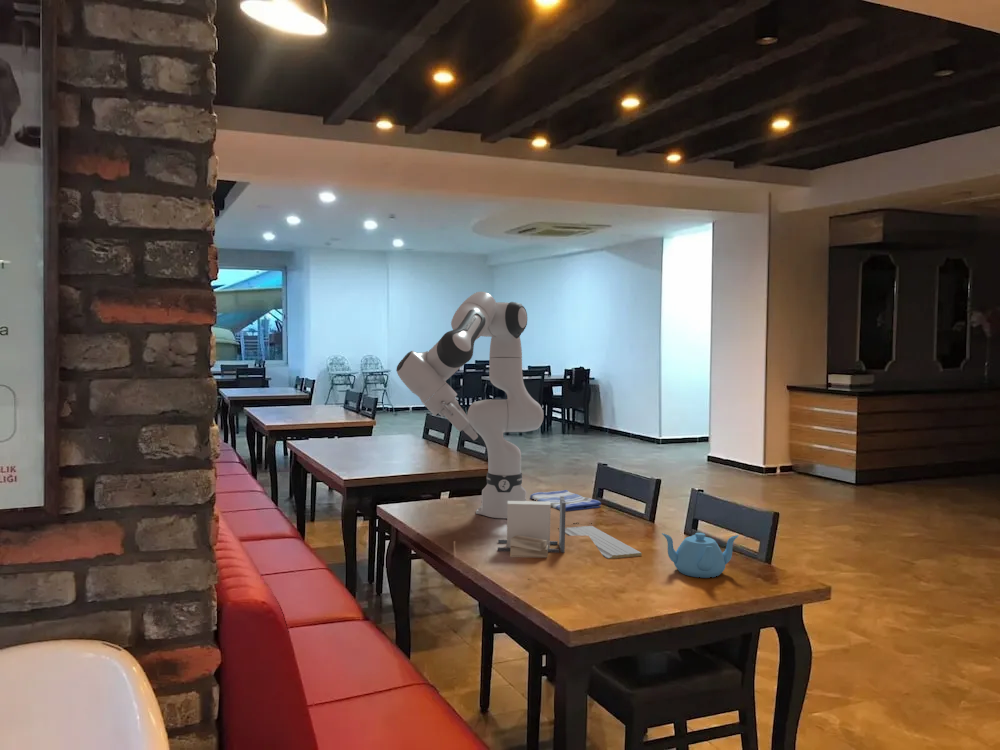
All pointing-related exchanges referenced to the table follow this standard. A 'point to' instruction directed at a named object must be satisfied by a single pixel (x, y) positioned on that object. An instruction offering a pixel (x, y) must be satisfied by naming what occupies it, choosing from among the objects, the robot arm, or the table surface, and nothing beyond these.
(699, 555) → the teapot
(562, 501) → the rack
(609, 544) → the baseboard molding
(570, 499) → the dish towel
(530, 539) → the offcut top
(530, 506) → the off-white wooden block
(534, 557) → the block
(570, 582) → the table surface
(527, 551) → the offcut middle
